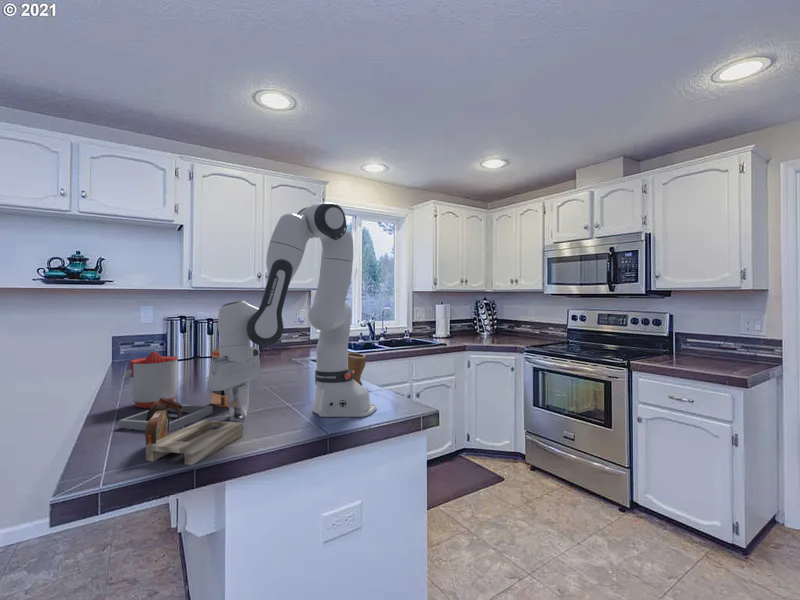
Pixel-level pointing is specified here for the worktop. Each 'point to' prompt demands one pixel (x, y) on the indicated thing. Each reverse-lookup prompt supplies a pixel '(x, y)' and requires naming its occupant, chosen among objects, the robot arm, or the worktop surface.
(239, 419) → the peg
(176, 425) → the grey flat square frame
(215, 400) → the whiskey bottle
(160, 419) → the tin
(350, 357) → the tan flared vase
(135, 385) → the citrus juicer
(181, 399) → the worktop surface
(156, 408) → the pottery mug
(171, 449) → the keyhole plate
